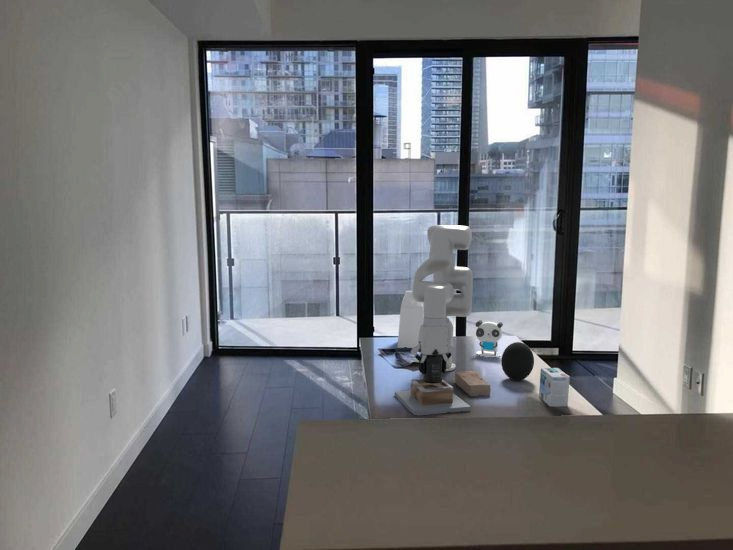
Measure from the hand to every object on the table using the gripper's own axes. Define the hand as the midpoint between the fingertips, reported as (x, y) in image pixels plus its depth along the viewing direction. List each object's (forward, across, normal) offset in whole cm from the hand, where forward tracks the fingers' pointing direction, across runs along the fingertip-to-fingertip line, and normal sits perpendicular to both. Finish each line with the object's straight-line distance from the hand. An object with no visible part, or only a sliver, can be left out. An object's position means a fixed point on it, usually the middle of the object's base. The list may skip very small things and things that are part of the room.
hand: (432, 372), depth 206 cm
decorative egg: (+11, -43, -17) cm, 47 cm away
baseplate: (+11, 0, 0) cm, 11 cm away
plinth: (+10, 0, 0) cm, 10 cm away
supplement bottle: (+3, 0, 0) cm, 3 cm away
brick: (+12, -21, -11) cm, 26 cm away
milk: (+12, -21, -77) cm, 80 cm away
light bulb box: (+11, -43, +8) cm, 45 cm away
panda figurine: (+12, -50, -54) cm, 74 cm away
